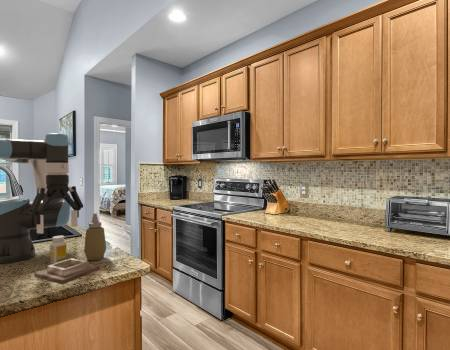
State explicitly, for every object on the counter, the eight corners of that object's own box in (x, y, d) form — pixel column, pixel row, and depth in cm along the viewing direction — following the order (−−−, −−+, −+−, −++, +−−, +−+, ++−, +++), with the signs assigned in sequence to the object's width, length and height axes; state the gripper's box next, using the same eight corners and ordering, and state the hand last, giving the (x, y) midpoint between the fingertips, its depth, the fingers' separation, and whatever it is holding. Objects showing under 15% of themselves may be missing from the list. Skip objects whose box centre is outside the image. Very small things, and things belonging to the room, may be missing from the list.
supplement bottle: (47, 264, 105) (47, 238, 105) (54, 259, 111) (54, 235, 110) (62, 263, 106) (62, 238, 106) (69, 259, 111) (68, 234, 111)
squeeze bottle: (97, 262, 107) (97, 215, 106) (79, 261, 108) (78, 214, 108) (110, 256, 115) (110, 212, 114) (93, 254, 116) (92, 211, 116)
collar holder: (34, 276, 93) (34, 267, 93) (73, 263, 106) (73, 255, 106) (62, 283, 87) (62, 273, 87) (99, 268, 100) (99, 260, 100)
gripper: (28, 174, 94) (29, 237, 95) (92, 173, 117) (92, 224, 117) (15, 174, 98) (16, 235, 98) (79, 173, 120) (80, 223, 121)
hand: (58, 229), depth 108 cm, fingers open, 13 cm apart
